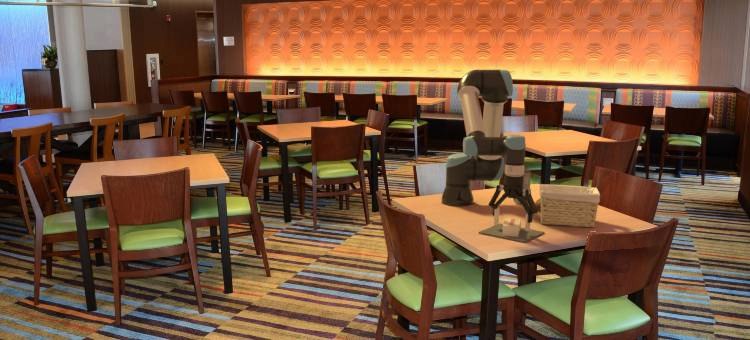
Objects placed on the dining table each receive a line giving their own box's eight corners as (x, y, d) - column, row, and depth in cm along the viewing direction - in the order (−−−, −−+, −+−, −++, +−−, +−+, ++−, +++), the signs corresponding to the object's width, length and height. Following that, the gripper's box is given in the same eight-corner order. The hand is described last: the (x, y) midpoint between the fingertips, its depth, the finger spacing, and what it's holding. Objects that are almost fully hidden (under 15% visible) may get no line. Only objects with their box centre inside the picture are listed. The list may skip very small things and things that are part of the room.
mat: (478, 233, 260) (478, 231, 260) (499, 224, 273) (499, 223, 272) (524, 242, 247) (524, 241, 247) (544, 233, 260) (544, 231, 260)
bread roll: (539, 220, 293) (545, 206, 289) (527, 206, 301) (533, 192, 297) (557, 218, 297) (563, 204, 293) (545, 204, 305) (551, 191, 300)
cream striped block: (505, 227, 266) (506, 217, 265) (520, 228, 264) (521, 218, 264) (502, 235, 255) (502, 225, 254) (518, 236, 253) (518, 226, 252)
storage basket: (594, 219, 282) (597, 186, 279) (598, 229, 266) (601, 194, 264) (537, 216, 287) (539, 183, 284) (538, 225, 272) (540, 191, 269)
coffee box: (512, 200, 317) (513, 167, 314) (525, 200, 317) (527, 167, 314) (516, 204, 308) (517, 171, 305) (529, 204, 308) (531, 171, 305)
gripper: (481, 172, 261) (479, 223, 265) (539, 180, 245) (536, 235, 249) (490, 169, 266) (488, 219, 270) (548, 177, 251) (545, 230, 255)
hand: (511, 227), depth 260 cm, fingers open, 13 cm apart
